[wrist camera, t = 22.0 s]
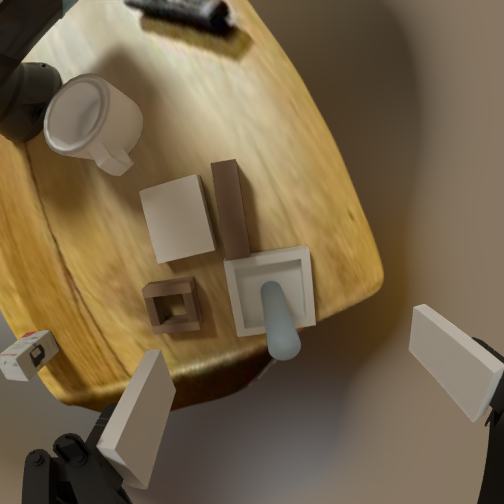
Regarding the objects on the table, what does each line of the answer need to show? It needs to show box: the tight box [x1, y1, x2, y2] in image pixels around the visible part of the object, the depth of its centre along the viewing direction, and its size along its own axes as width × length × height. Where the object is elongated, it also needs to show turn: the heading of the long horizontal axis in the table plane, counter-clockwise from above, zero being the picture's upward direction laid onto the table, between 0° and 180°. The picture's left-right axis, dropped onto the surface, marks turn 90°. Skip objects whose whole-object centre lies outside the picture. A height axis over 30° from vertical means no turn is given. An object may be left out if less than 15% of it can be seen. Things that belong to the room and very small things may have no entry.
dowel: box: [260, 281, 301, 360], centre depth 32 cm, size 3×3×15 cm
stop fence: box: [211, 159, 251, 260], centre depth 35 cm, size 3×12×4 cm, turn 8°
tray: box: [223, 245, 316, 337], centre depth 38 cm, size 11×11×2 cm
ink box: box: [0, 330, 59, 381], centre depth 36 cm, size 9×5×12 cm, turn 103°
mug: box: [44, 74, 143, 176], centre depth 29 cm, size 14×10×11 cm
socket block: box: [142, 277, 203, 334], centre depth 38 cm, size 7×7×3 cm
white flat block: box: [139, 174, 217, 264], centre depth 36 cm, size 8×10×3 cm
